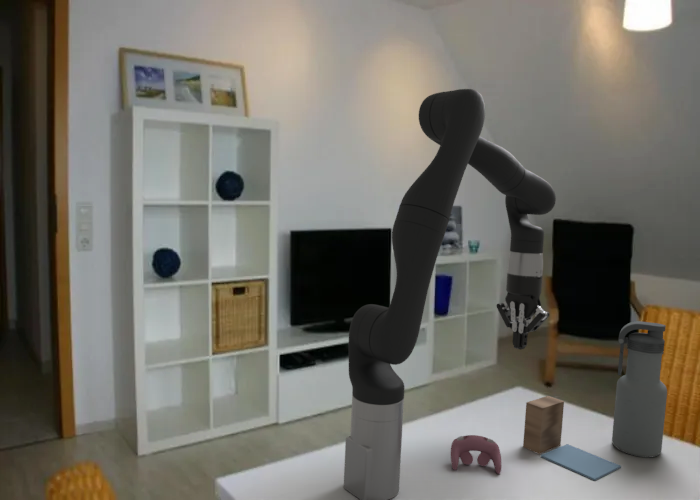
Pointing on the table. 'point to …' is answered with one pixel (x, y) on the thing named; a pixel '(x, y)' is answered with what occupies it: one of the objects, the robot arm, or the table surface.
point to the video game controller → (475, 443)
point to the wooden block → (543, 424)
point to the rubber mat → (581, 462)
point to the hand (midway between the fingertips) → (519, 348)
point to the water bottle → (640, 392)
